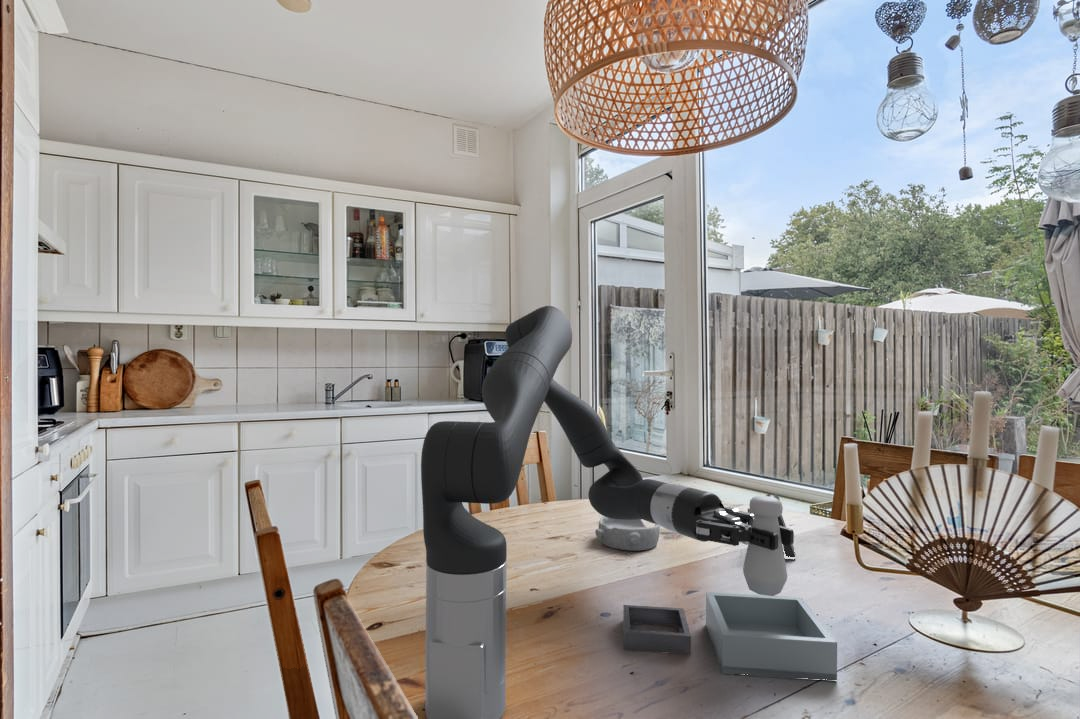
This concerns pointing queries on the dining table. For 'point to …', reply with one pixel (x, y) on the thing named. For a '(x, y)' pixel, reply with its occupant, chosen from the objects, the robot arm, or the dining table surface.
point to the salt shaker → (765, 550)
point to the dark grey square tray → (654, 639)
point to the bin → (769, 637)
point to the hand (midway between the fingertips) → (784, 540)
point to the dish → (627, 534)
